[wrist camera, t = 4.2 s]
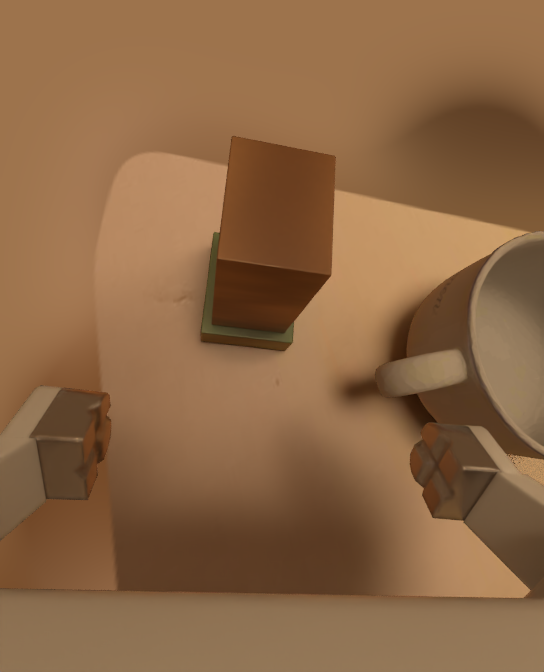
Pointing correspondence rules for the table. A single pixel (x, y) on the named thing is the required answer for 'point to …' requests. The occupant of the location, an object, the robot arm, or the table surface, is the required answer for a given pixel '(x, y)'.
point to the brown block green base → (269, 244)
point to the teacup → (482, 348)
